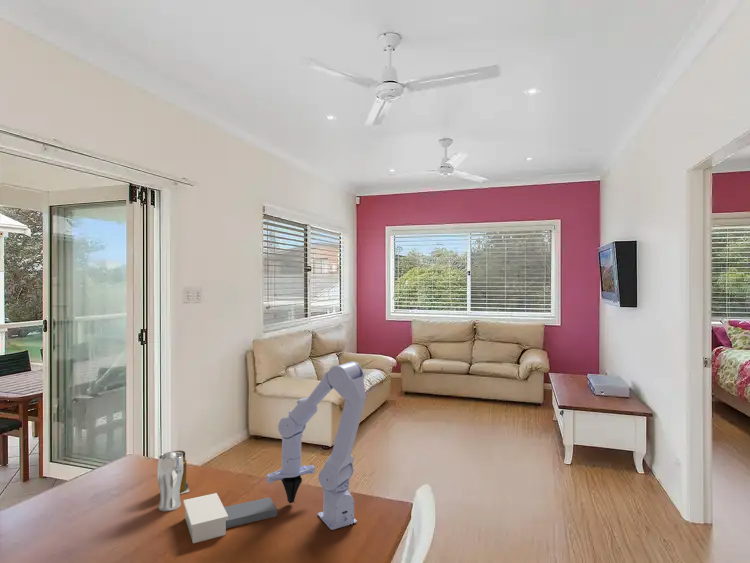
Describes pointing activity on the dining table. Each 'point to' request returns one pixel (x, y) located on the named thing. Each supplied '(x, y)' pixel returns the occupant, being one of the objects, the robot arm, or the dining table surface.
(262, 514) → the slate tile
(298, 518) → the dining table surface
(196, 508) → the white rectangular block
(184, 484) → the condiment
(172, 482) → the beer glass
